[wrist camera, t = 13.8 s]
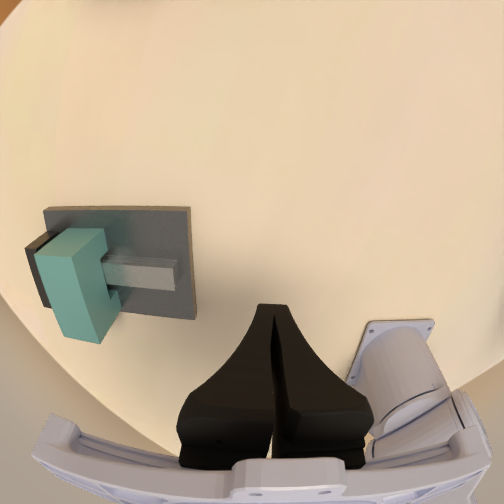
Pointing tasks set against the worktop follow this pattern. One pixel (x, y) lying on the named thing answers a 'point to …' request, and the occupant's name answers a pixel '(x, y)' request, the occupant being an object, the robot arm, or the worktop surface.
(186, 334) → the worktop surface
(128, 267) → the rail base
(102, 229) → the block
